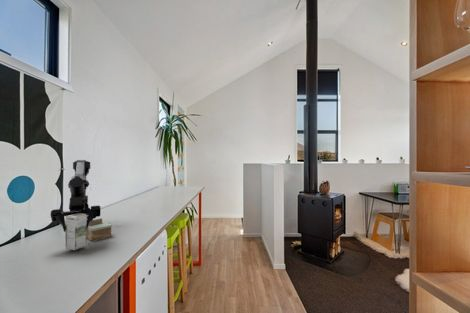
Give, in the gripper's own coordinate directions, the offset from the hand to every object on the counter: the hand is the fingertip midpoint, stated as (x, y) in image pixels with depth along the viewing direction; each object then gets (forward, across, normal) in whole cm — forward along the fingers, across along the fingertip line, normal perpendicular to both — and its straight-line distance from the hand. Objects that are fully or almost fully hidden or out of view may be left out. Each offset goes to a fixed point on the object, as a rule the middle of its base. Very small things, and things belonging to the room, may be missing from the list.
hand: (76, 229), depth 104 cm
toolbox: (-6, +8, +19) cm, 21 cm away
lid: (-9, +8, +15) cm, 19 cm away
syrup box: (+5, 0, +7) cm, 9 cm away
